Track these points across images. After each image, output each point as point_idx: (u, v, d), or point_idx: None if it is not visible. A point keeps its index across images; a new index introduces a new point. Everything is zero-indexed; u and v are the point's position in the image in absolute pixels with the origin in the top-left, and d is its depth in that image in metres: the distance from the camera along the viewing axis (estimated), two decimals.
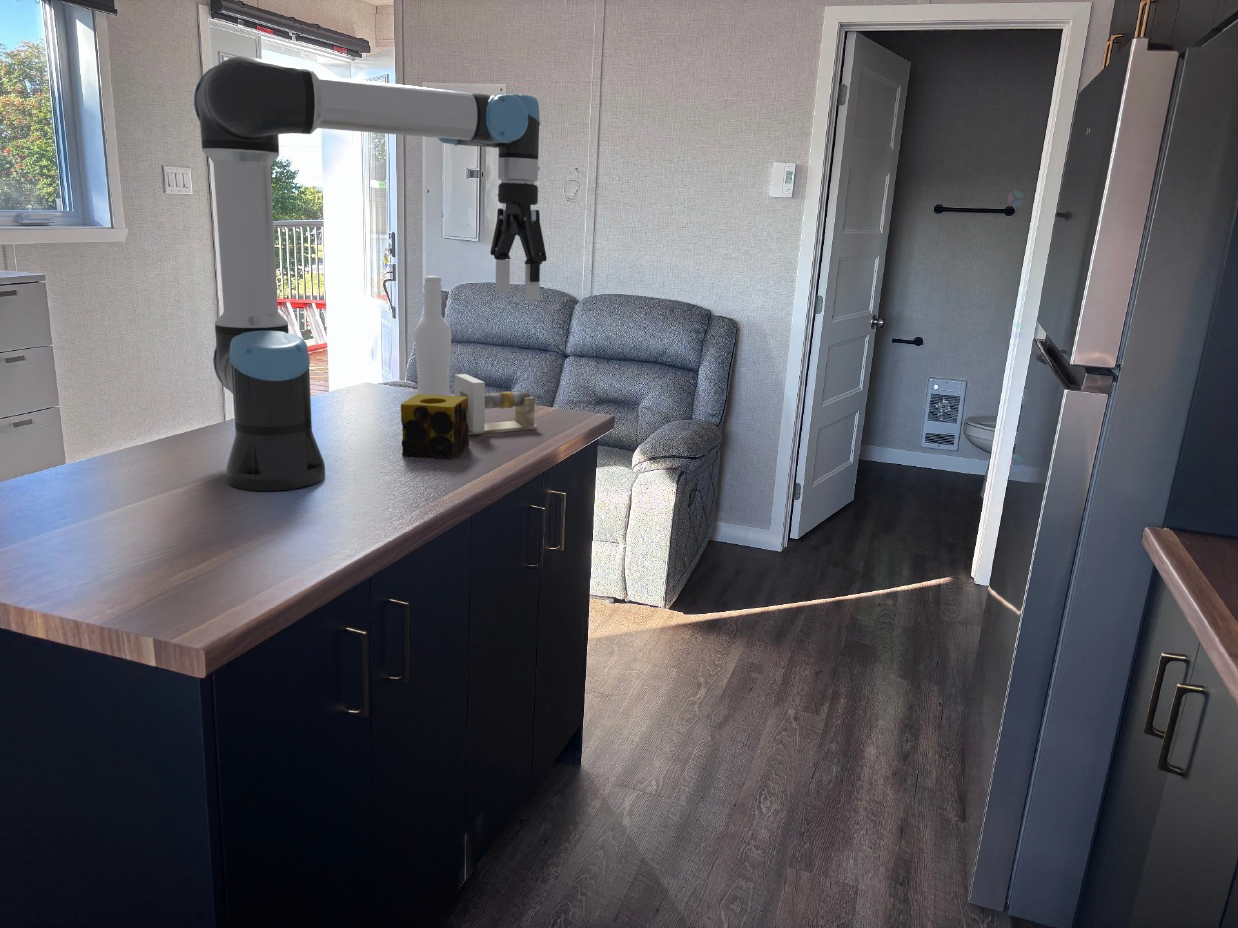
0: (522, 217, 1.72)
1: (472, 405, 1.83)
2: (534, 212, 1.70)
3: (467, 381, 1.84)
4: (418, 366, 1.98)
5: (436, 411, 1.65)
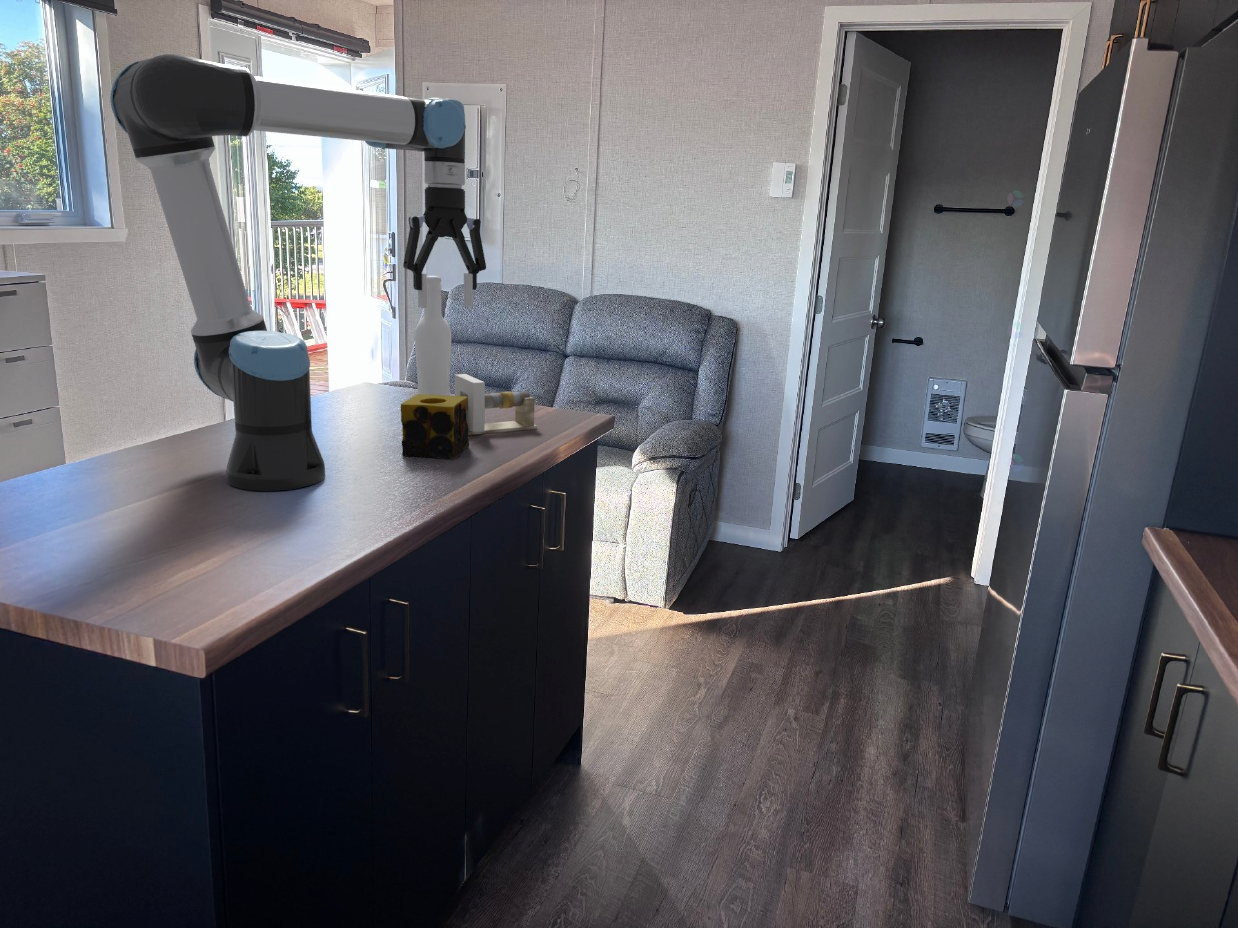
0: None
1: (472, 405, 1.83)
2: (410, 219, 1.72)
3: (467, 381, 1.84)
4: (418, 366, 1.98)
5: (436, 411, 1.65)
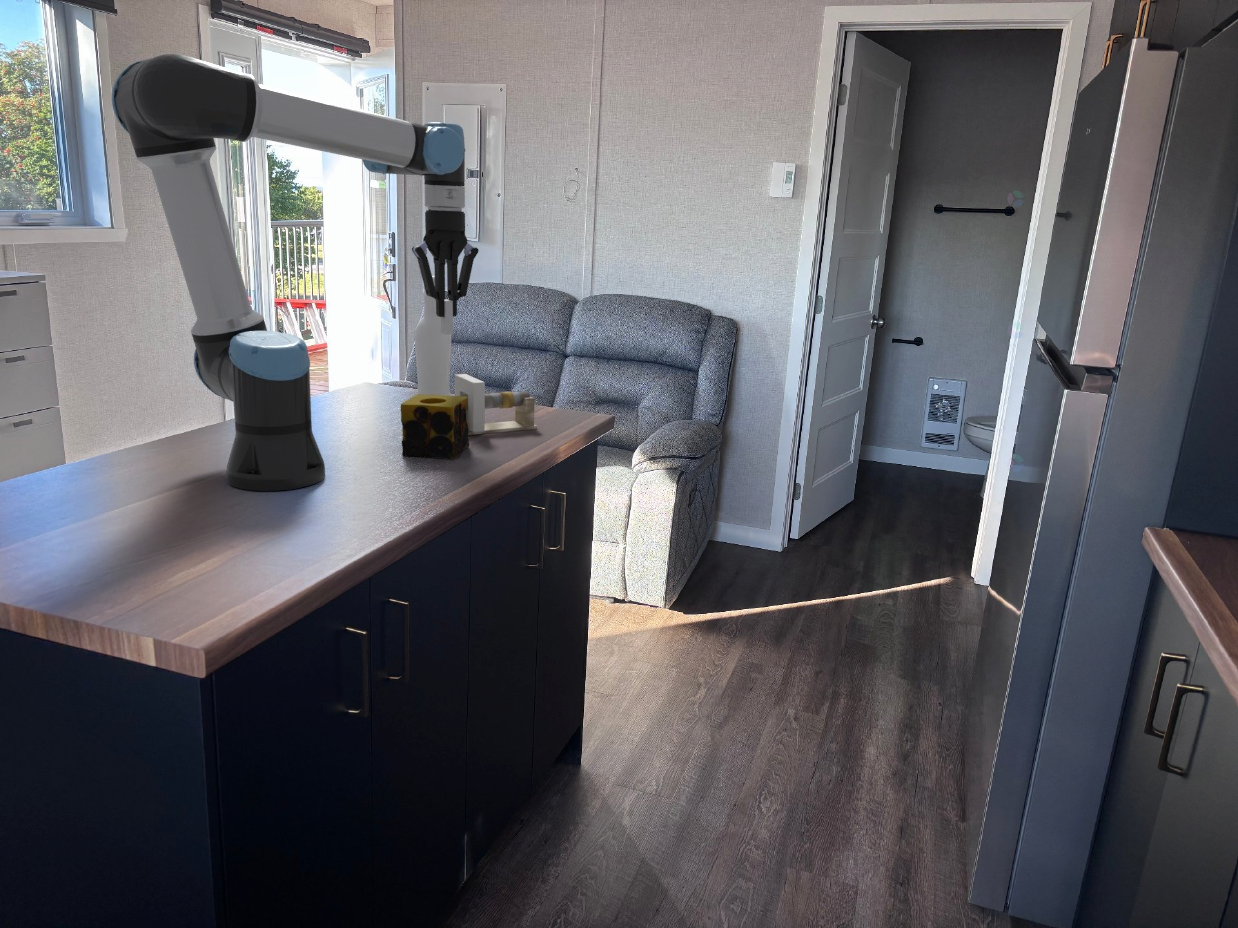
0: None
1: (472, 405, 1.83)
2: (414, 251, 1.74)
3: (467, 381, 1.84)
4: (418, 366, 1.98)
5: (436, 412, 1.65)
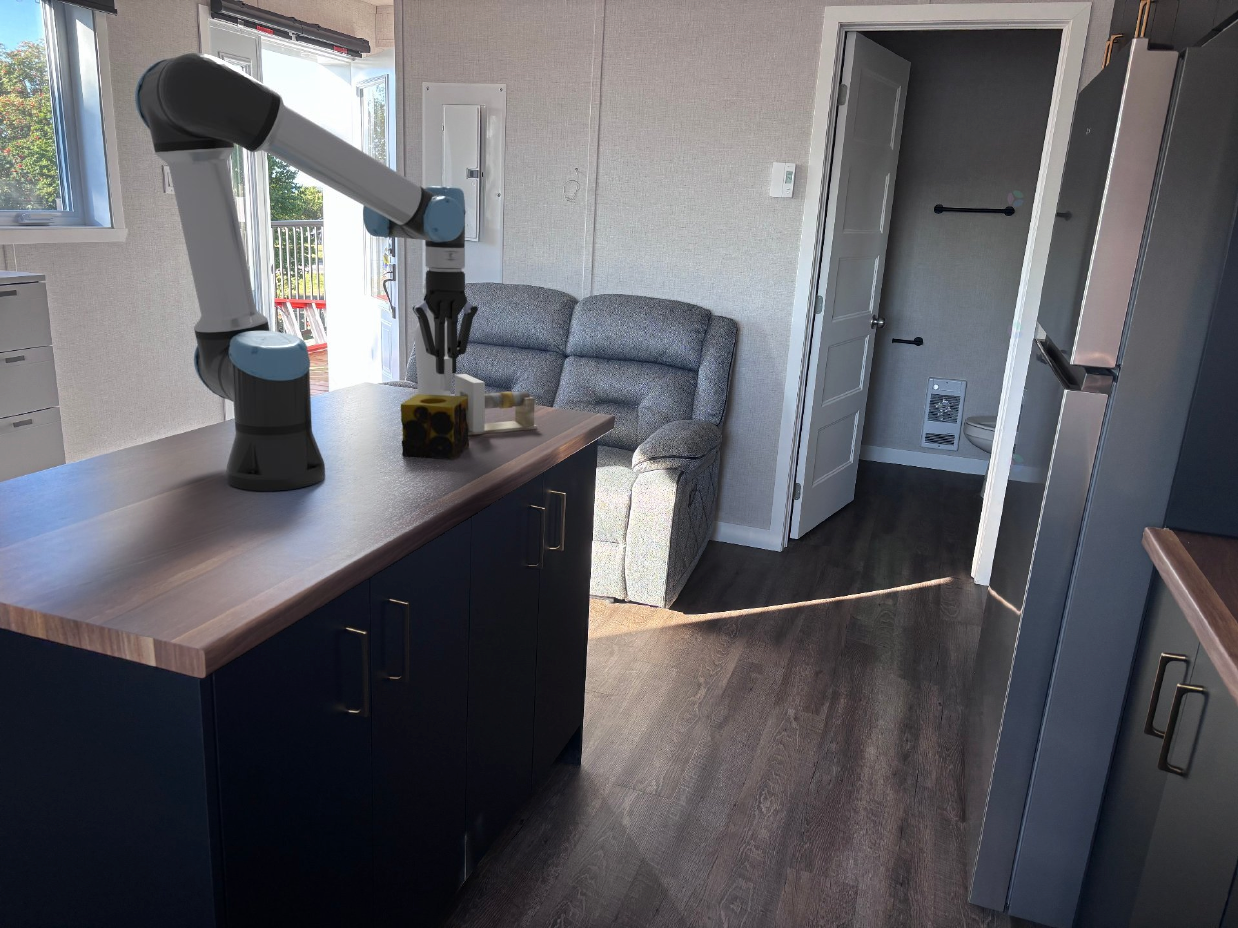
0: None
1: (472, 405, 1.83)
2: (415, 311, 1.77)
3: (467, 381, 1.84)
4: (418, 366, 1.98)
5: (436, 412, 1.65)
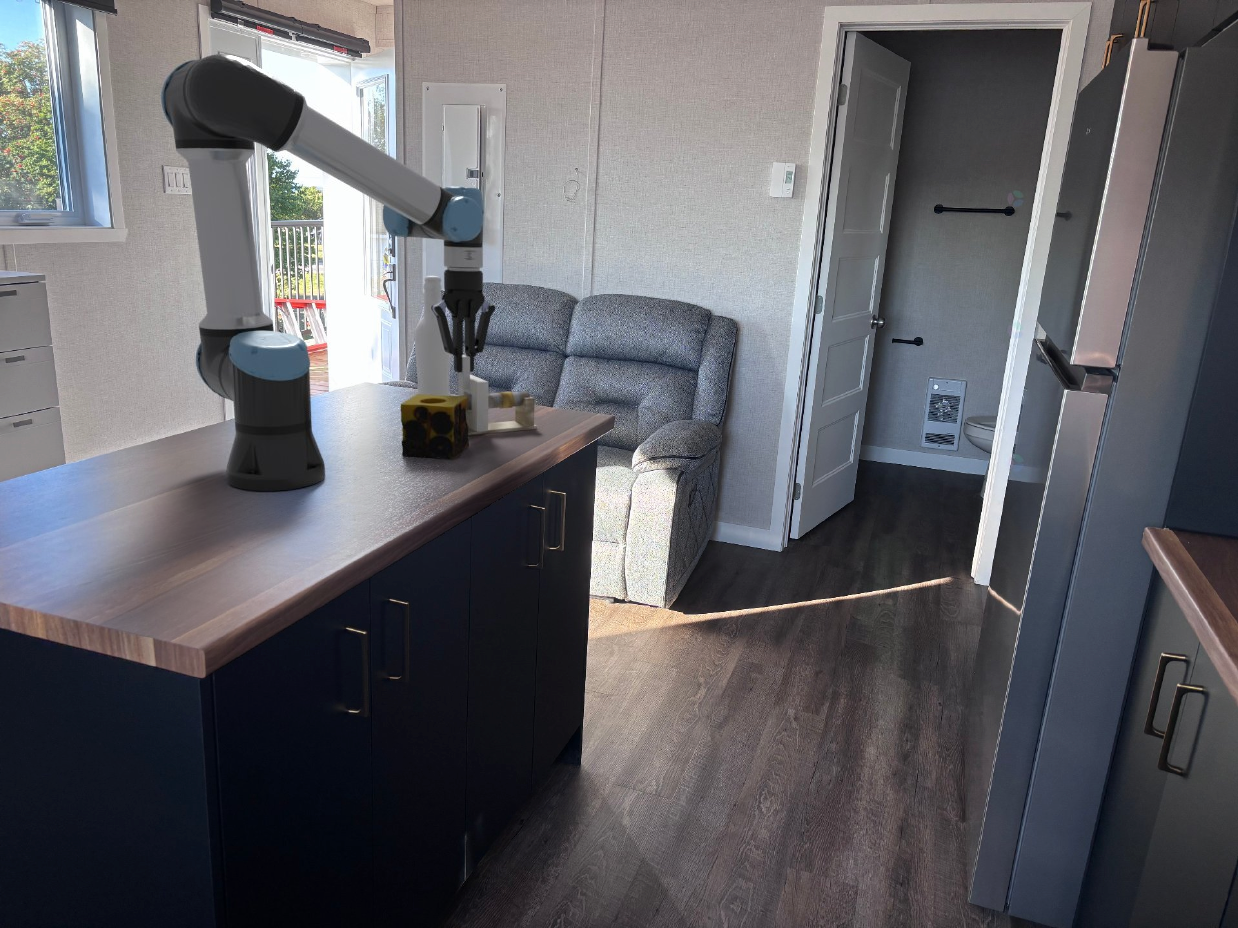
0: None
1: (476, 405, 1.83)
2: (433, 310, 1.78)
3: (471, 381, 1.84)
4: (418, 366, 1.98)
5: (436, 411, 1.65)
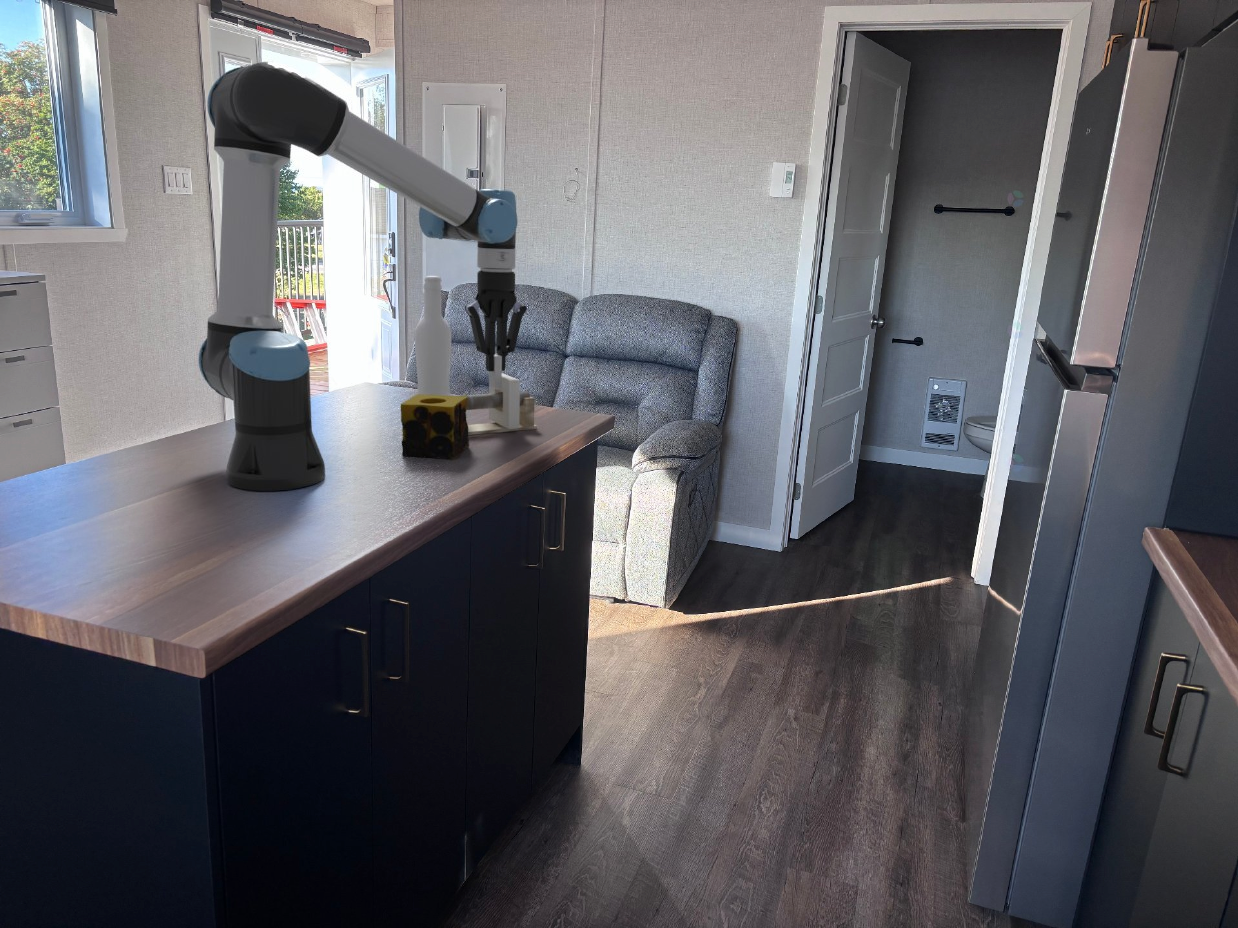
0: None
1: (508, 402, 1.87)
2: (467, 310, 1.82)
3: (502, 379, 1.88)
4: (418, 366, 1.98)
5: (436, 411, 1.65)
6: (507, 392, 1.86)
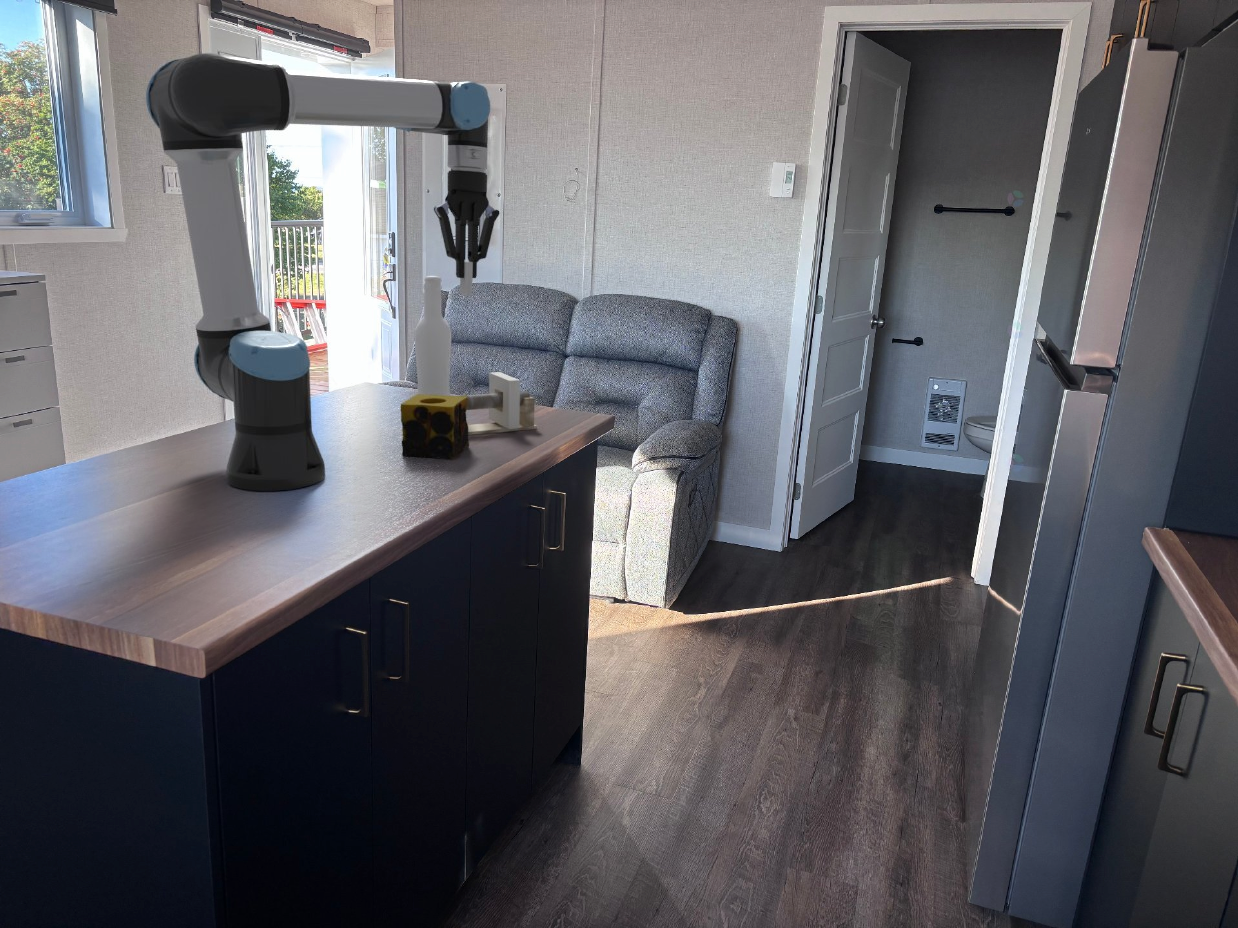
0: None
1: (508, 402, 1.87)
2: (436, 211, 1.75)
3: (502, 379, 1.88)
4: (418, 366, 1.98)
5: (436, 411, 1.65)
6: (507, 392, 1.86)
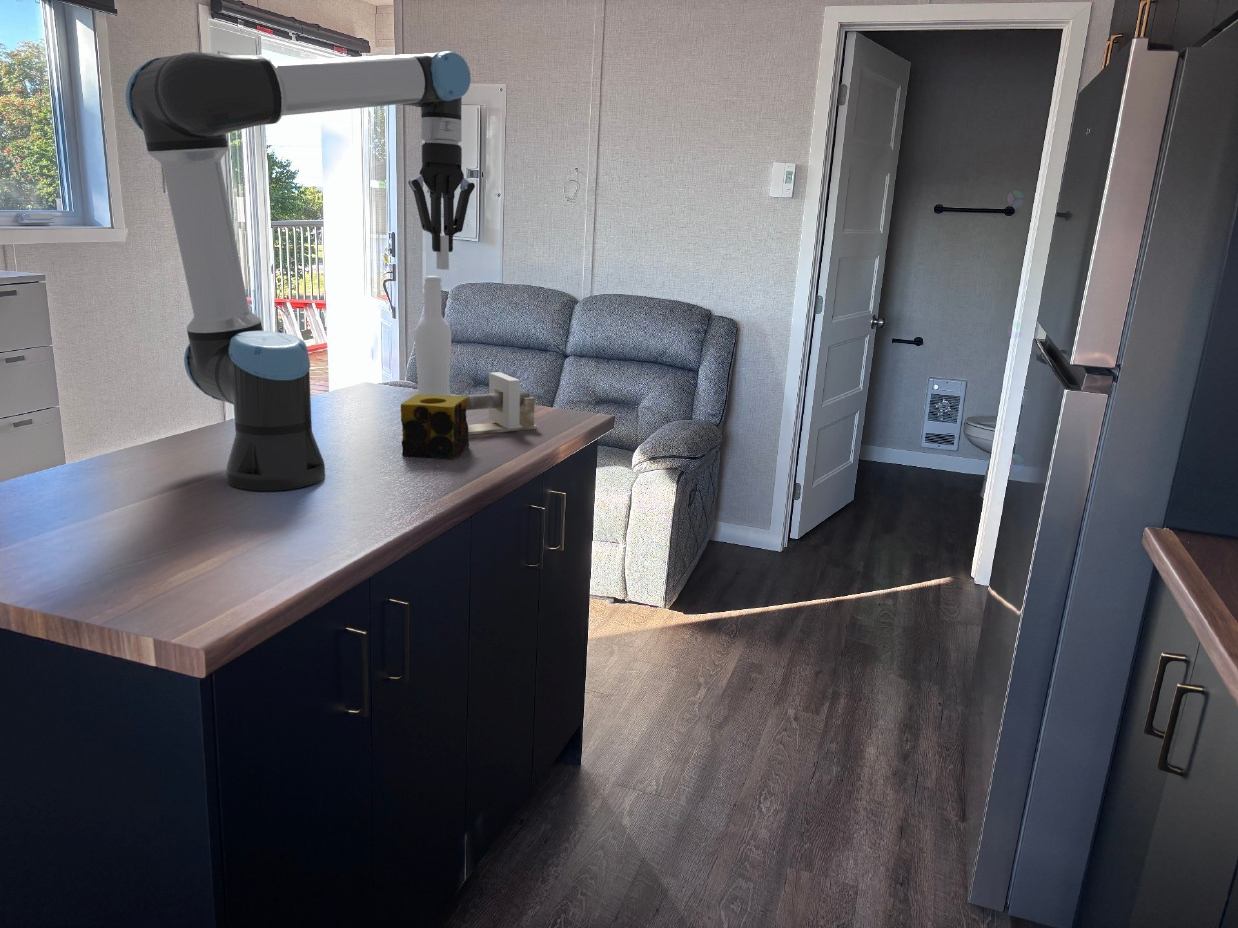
0: None
1: (508, 402, 1.87)
2: (411, 184, 1.74)
3: (502, 379, 1.88)
4: (418, 366, 1.98)
5: (436, 412, 1.65)
6: (507, 392, 1.86)
